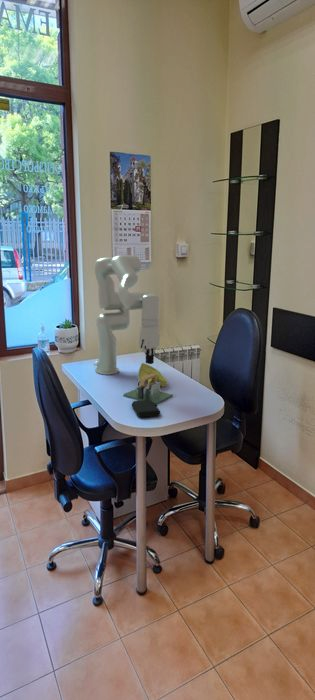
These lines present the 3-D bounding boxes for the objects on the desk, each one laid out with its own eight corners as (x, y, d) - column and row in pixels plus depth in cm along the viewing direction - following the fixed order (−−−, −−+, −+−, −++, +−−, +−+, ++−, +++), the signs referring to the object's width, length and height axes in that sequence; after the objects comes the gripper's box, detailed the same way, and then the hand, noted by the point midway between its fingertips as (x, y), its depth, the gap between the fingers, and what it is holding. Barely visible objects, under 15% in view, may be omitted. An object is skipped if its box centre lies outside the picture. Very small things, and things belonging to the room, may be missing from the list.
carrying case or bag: (163, 417, 181) (154, 404, 195) (164, 410, 180) (154, 398, 194) (138, 419, 178) (130, 406, 192) (138, 412, 178) (130, 399, 191)
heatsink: (122, 396, 203) (122, 382, 201) (141, 387, 215) (141, 374, 213) (155, 405, 194) (155, 390, 192) (173, 395, 206) (173, 381, 204)
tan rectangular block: (140, 387, 200) (140, 378, 199) (152, 382, 208) (152, 373, 206) (144, 388, 199) (144, 379, 198) (156, 383, 206) (156, 374, 205)
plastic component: (169, 382, 217) (151, 375, 213) (162, 395, 218) (144, 389, 214) (156, 368, 235) (140, 361, 231) (150, 380, 236) (133, 374, 232)
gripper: (152, 319, 204) (152, 358, 208) (133, 324, 192) (132, 365, 196) (166, 321, 200) (165, 361, 204) (147, 326, 188) (146, 368, 192)
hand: (149, 363), depth 200 cm, fingers closed
